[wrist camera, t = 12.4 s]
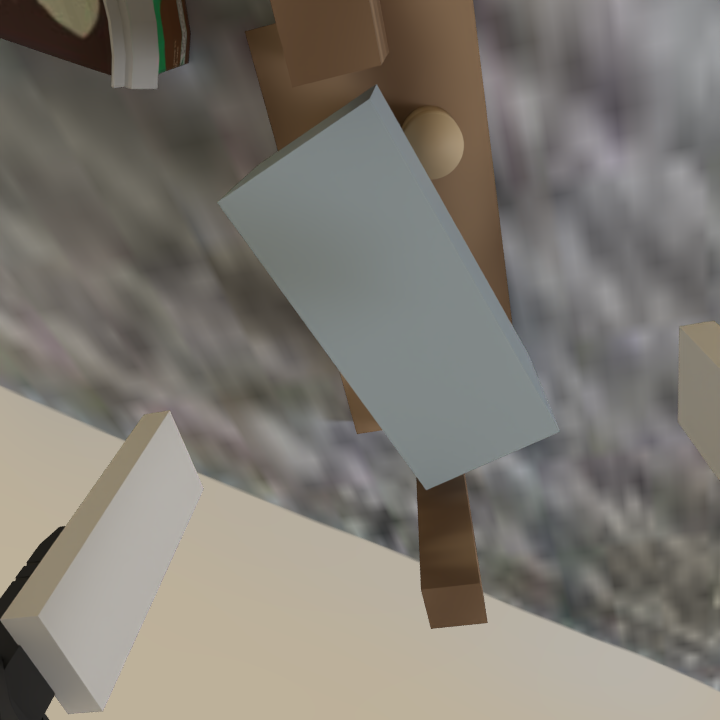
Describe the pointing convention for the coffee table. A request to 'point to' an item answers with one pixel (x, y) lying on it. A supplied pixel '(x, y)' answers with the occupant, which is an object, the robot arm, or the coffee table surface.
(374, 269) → the shelf board
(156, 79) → the food container
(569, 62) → the coffee table surface
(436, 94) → the peg stand
